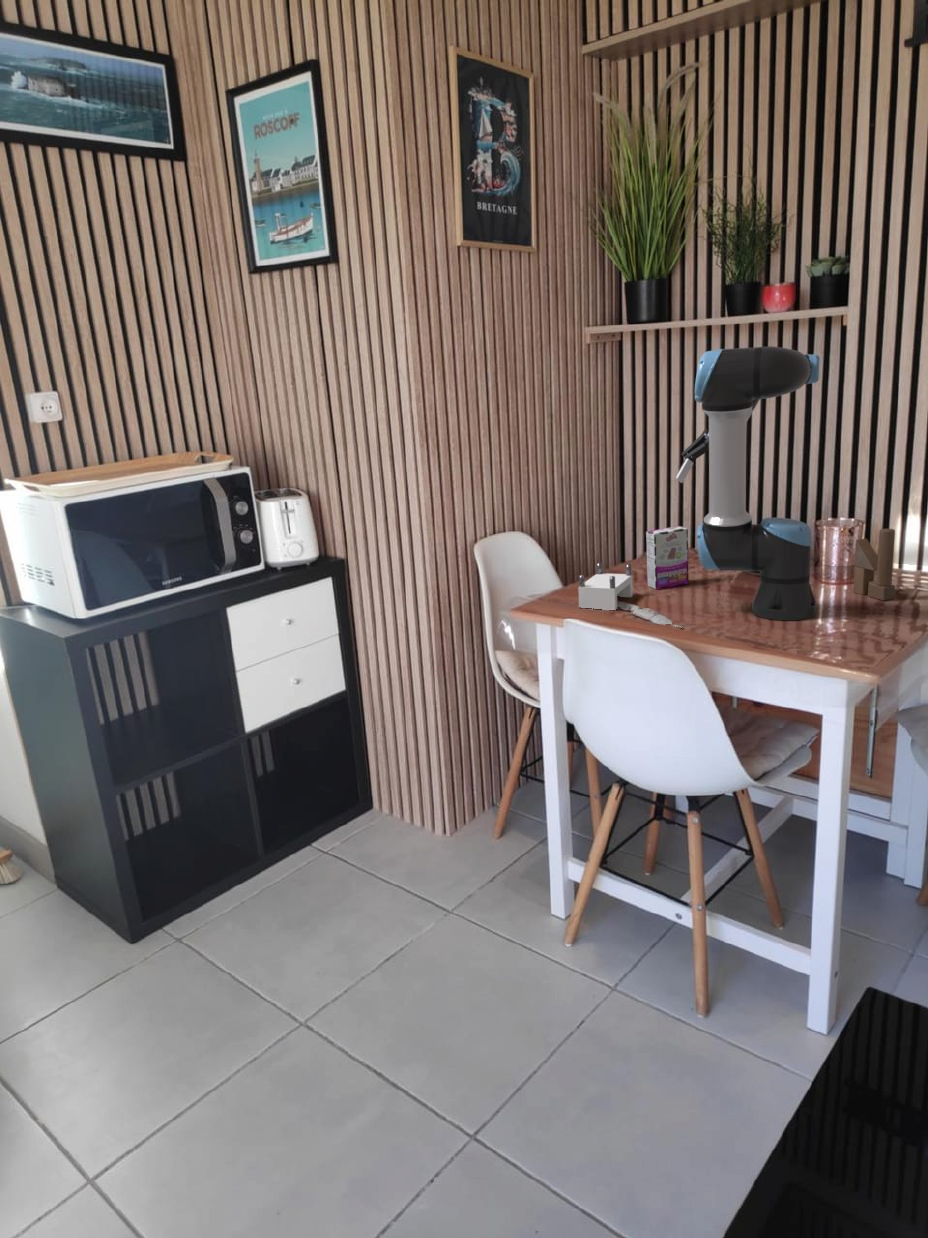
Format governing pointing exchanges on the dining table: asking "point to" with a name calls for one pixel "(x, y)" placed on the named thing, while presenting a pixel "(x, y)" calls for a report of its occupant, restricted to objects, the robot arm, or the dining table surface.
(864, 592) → the wooden block stack
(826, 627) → the dining table surface
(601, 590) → the peg shelf
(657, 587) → the candy bar box
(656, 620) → the driftwood
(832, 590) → the dining table surface
